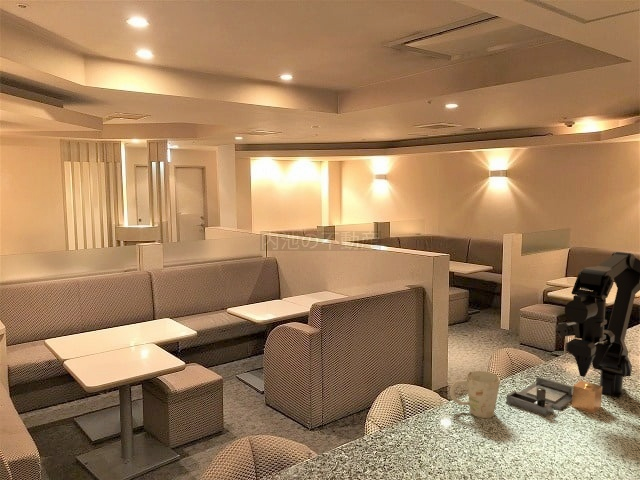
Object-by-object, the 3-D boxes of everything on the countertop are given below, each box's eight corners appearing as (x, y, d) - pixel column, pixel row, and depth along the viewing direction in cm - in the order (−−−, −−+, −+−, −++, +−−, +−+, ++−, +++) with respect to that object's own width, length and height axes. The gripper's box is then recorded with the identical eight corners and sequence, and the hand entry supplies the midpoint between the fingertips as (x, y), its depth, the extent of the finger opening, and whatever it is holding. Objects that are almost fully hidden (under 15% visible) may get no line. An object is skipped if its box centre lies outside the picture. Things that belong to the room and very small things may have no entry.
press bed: (534, 385, 150) (534, 375, 150) (575, 398, 141) (576, 387, 141) (517, 396, 143) (517, 385, 142) (560, 410, 134) (560, 398, 134)
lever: (536, 404, 135) (537, 386, 135) (547, 407, 133) (548, 389, 133) (533, 406, 134) (534, 388, 133) (543, 410, 132) (544, 392, 131)
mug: (500, 421, 127) (502, 384, 126) (450, 417, 130) (451, 380, 129) (496, 407, 135) (497, 372, 134) (448, 403, 138) (449, 368, 137)
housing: (579, 400, 140) (581, 379, 139) (600, 407, 136) (602, 384, 135) (571, 406, 136) (573, 384, 136) (593, 413, 132) (595, 390, 132)
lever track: (513, 398, 141) (513, 390, 141) (552, 411, 133) (553, 403, 133) (506, 402, 138) (506, 394, 138) (546, 416, 130) (546, 408, 130)
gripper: (574, 304, 145) (571, 356, 147) (547, 316, 133) (544, 372, 135) (616, 311, 137) (613, 366, 139) (592, 325, 125) (588, 384, 127)
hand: (588, 372), depth 135 cm, fingers open, 9 cm apart
